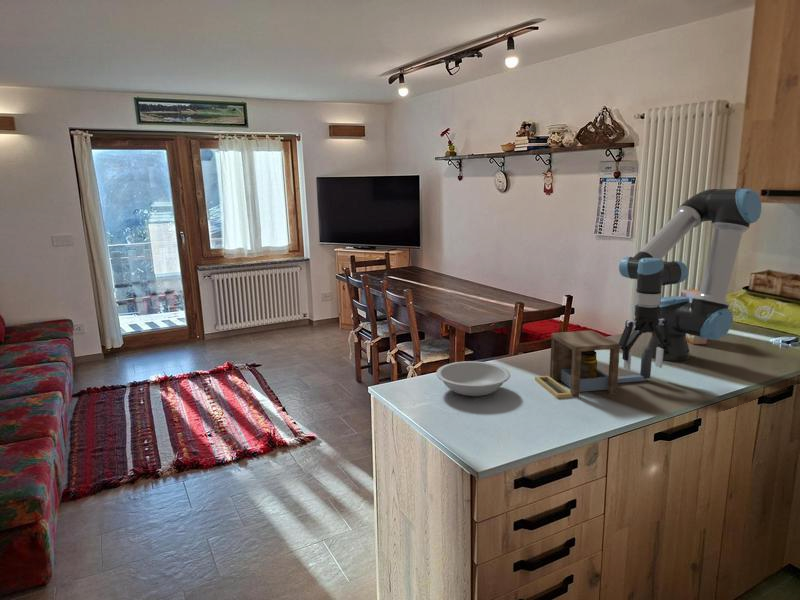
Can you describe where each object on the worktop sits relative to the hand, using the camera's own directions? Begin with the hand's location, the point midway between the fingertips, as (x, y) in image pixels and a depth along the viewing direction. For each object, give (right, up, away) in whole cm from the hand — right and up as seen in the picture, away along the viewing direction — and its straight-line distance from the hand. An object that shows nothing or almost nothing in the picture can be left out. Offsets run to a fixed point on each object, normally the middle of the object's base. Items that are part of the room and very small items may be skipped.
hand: (642, 367), depth 183 cm
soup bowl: (-59, -7, -6) cm, 59 cm away
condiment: (-21, -6, -2) cm, 22 cm away
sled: (-12, -5, -1) cm, 13 cm away
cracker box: (+42, +6, +46) cm, 63 cm away
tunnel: (-22, -6, -3) cm, 22 cm away
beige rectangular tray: (-32, -6, -4) cm, 33 cm away
